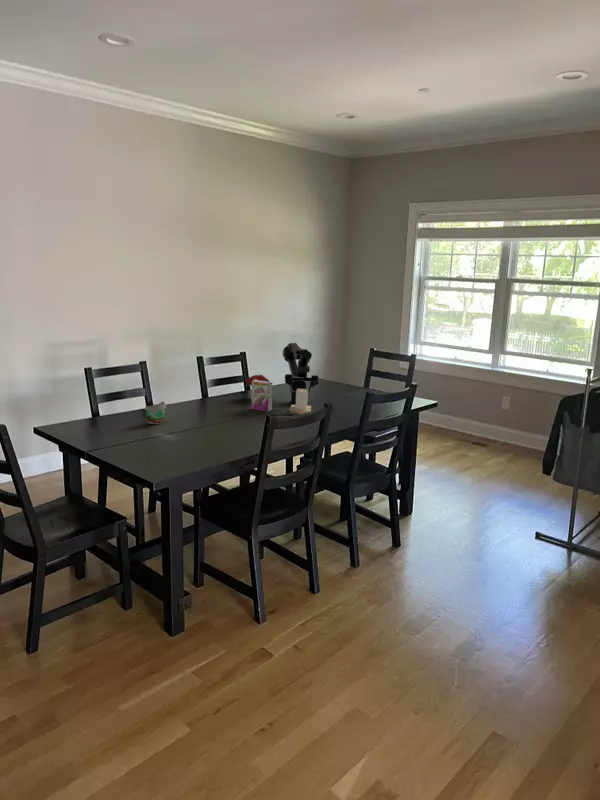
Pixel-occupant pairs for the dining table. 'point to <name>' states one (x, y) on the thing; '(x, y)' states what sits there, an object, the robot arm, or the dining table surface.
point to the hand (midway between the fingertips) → (300, 392)
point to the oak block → (299, 410)
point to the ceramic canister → (301, 398)
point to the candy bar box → (261, 395)
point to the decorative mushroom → (256, 377)
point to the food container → (155, 413)
